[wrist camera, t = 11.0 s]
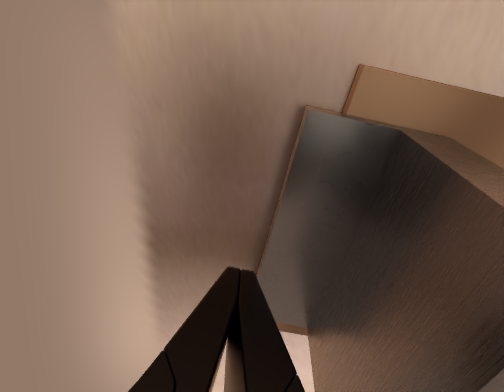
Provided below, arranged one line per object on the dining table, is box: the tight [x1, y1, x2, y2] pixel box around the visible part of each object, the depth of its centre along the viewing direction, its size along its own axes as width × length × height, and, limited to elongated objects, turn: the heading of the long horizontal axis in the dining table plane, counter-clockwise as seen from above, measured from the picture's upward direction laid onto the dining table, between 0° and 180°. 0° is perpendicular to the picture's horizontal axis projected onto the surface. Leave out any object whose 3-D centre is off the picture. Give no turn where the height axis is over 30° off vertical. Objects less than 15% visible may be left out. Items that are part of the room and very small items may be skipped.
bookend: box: [256, 105, 504, 392], centre depth 9 cm, size 5×10×7 cm, turn 168°
